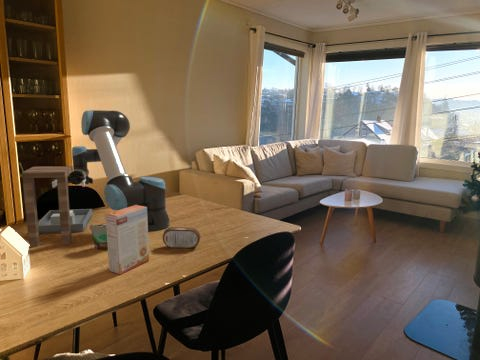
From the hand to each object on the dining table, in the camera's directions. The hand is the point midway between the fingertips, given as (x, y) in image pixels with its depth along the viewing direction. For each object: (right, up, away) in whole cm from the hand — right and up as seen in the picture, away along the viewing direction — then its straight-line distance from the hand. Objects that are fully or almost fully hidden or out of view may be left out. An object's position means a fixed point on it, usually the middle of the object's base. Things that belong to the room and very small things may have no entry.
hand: (68, 184), depth 176 cm
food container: (+32, -25, -33) cm, 52 cm away
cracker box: (+45, -29, -48) cm, 71 cm away
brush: (+2, -18, -7) cm, 19 cm away
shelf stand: (+7, -23, -26) cm, 35 cm away
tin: (+61, -25, -30) cm, 72 cm away
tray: (+2, -18, -6) cm, 20 cm away
